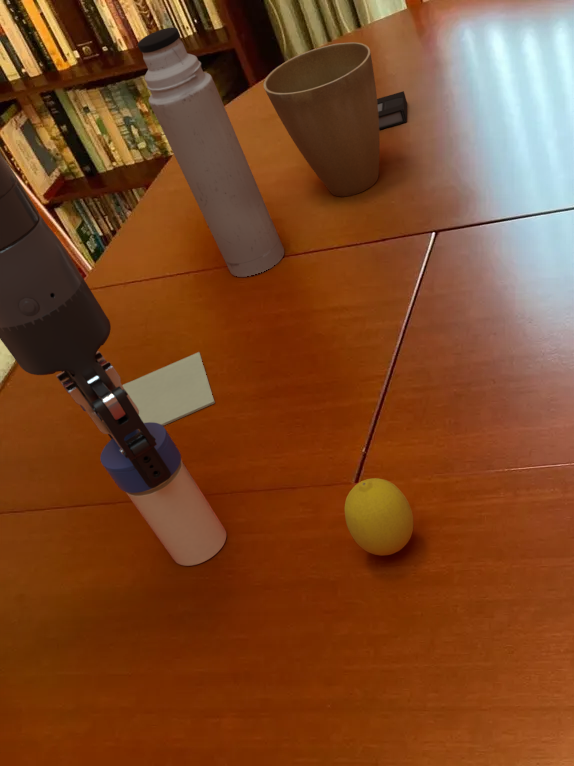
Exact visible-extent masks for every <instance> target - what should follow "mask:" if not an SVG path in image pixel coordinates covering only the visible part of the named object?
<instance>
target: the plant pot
mask: <svg viewBox="0 0 574 766" xmlns="http://www.w3.org/2000/svg"><path fill="white" fill-rule="evenodd" d="M375 79H376V78H375V72H374V67H373V59H372V53H371V49H370V47H369V46H368V44H365V43H362V42H353V41H351V42H340V43H333V44H329V45H323V46H321V47H318V48H314V49H310V50H308V51H304V52H302V53H299V54H298V55H295V56H293V57H292V58H289V59H288V60H286V61H285V62H283V63H282V64H279V65H278V66H276V67H275V68H274V69H272V71H270V73H269V74H268V75H267V76H266V77H265V79H264V82H263V85H262V86H263V89H264V91H265V93H266V95H267V97H268V99H269V101H270V103H271V104H272V106H273V109H274V110H275V112H276V114H277V115H278V118H279V119H280V122H281V123H282V125H283V127H284V128H285V130H286V132H287V133H288V136H290V138H291V140H292V141H293V143H294V145H295V146H296V147H297V149H298V151H299V153H300V154H301V155H302V157H303V158H304V160H305V161H306V162H307V164H308V165H309V167H310V168H311V169H312V171H313V172H314V174H315V175H316V176H317V177H318V179H319V180H320V181H321V183H323V185H324V186H325V187H326V188H327V190H328V191H329V192H330V193H331V194H332V195H333V196H335V197H349V196H354V195H357V194H360V193H362V192H365V191H366V190H368V189H370V188H371V187H372V186H374V185H375V184H376V183H377V181H378V179H379V177H380V176H379V175H380V174H379V173H380V130H379V117H378V104H377V99H378V96H377V88H376V87H377V86H376V80H375Z"/></svg>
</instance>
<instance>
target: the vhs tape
mask: <svg viewBox="0 0 574 766" xmlns="http://www.w3.org/2000/svg"><path fill="white" fill-rule="evenodd" d="M377 104H378V117H379V131H380V130H383V129H387V128H390V127H394V126H397V125H400V124H404V123H407V122H408V101H407V98H406V94H405V91H400V92H399V91H398V92H396V93H392V94H389V95H386V96H383V97H379V98H377Z"/></svg>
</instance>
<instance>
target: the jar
mask: <svg viewBox="0 0 574 766" xmlns="http://www.w3.org/2000/svg"><path fill="white" fill-rule="evenodd" d="M125 494H126V495H127V497H128V498H129V500H130V501H131V502H132V504H133V505H134V507H135V508H136V509H137V511H138V512H139V513H140V515H141V516H142V518H143V519H144V521H145V522H146V524H148V526H149V528H150V529H151V531H152V532H153V533H154V535H155V536H156V537H157V539H158V540H159V541H160V543H161V545H162V546H163V547H164V548H165V550H166V551H167V553H168V554H169V556H170V557H171V559H172V560H173V561H174V562H175V563H176V564H178V565H179V566H180V565H181V566H185V567H189V566H196V565H200V564H203V563H204V562H206V561H209V560H210V559H212V558H213V557H214V556H215V555H217V554H218V553H219V552H220V550H221V549H222V548H223V546H224V545H225V543H226V541H227V530H226V528H225V527H224V525H223V523H222V522H221V521H220V519H219V517H218V516H217V514H216V513H215V510H214V509H213V508H212V506H211V504H210V503H209V501H208V499H207V498H206V497H205V495H204V493H203V492H202V490H201V488H200V487H199V485H198V484H197V482H196V480H195V479H194V478H193V476H192V474H191V473H190V471H189V469H188V468H187V466H186V464H185V463H184V461H183V459H181V462H180V465H179V467H178V468H177V470H176V471H175V472H174V474H173V475H172V476H171V477H170V478H169V479H168V480H166V481H165V482H163V483H162V484H160V485H158V486H157V487H155V488H152V489H150V490H147V491H144V492H139V493H128V492H125Z"/></svg>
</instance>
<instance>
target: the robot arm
mask: <svg viewBox="0 0 574 766" xmlns="http://www.w3.org/2000/svg"><path fill="white" fill-rule="evenodd" d="M43 218H44V217H42V215H41V214H40V212H39V210H38V209H37V207H36V206H35V204H34V203H33V201H32V199H31V198H30V195H29V194H28V193H27V191H26V190H25V188H24V186H23V185H22V182H21V181H20V180H19V178H18V177H17V175H16V173H15V172H14V171H13V168H12V167H11V166H10V164H9V163H8V162H7V160H6V158H5V157H4V155H3V154H2V152H1V151H0V341H1V342H2V344H3V345H4V346H5V347H6V349H7V350H8V352H9V353H10V355H11V356H12V357H13V358H14V360H15V361H16V363H17V364H18V365H19V367H20V368H21V369H22V370H23V371H24V372H26V373H27V374H31V375H35V376H48V375H54V374H55V373H57V374H56V375H55V377H56V379H57V380H58V381H59V383H60V385H61V386H62V387H63V388H64V390H65V391H66V392H67V394H69V395H70V396H71V398H72V400H73V401H74V403H75V404H77V405H78V406H80V408H81V409H82V411H84V412H85V413H86V414H87V415H88V416H89V418H90V419H91V421H92V422H93V424H94V425H95V426H96V427H97V429H98V430H99V432H101V433H102V434H103V435H108V436H109V438H110V440H111V439H112V438H113V439H114V440H115V442H116V443H117V444H118V446H119V447H120V452H121V453H122V454H123V455H124V456H125V457H126V458H129V460H130V461H131V463H132V464H133V466H134V467H135V469H136V470H137V471H138V473H139V474H140V476H141V477H142V479H143V480H144V482H145V483H146V484H147V486H148V487H150V488H155V487H157V486H158V485H160V484H162V483H163V482H165V481H166V480H168V479H169V478H170V477H171V472H170V470H169V469H168V467H167V466H166V464H165V463H164V461H163V460H162V458H161V457H160V455H159V454H158V452H157V450H156V449H155V447H154V446H156V445H157V444H156V442H155V440H156V439H155V438H154V436H153V435H151V434H150V432H149V431H148V429H147V428H146V426H145V424H144V423H143V421H142V420H141V418H140V416H139V409H138V408H137V406H136V405H135V403H134V402H133V401H132V399H131V398H130V396H129V395H128V393H127V392H126V390H125V389H124V387H123V386H122V385H123V384H122V382H121V381H122V380H121V375H119V373H118V372H117V370H116V368H115V367H114V366H113V365H112V363H111V362H110V361H109V360H108V361H107V360H106V358H105V357H104V355H103V354H102V353H101V351H100V350H99V349H100V348H101V347H102V346H104V345H105V343H106V342H107V341H108V339H109V336H110V335H111V331H112V330H111V329H112V327H111V326H112V325H111V321H110V319H109V318H108V316H107V315H106V313H105V311H104V310H103V308H102V306H101V304H100V303H99V300H98V299H97V298H96V296H95V295H94V293H93V292H92V290H91V288H90V286H89V285H88V284H87V282H86V280H85V278H84V277H83V276H82V274H81V271H80V270H79V269H78V267H77V266H76V264H75V263H74V261H73V259H72V257H71V256H70V254H69V252H68V251H67V249H66V247H65V246H64V245H63V243H62V241H61V240H60V239H59V237H58V236H57V234H55V232H54V231H53V230H52V229H51V228H50V226H49V225H48V223H47V222H46V221H45V220H44V219H43ZM58 372H59V373H58ZM136 429H137V431H138V432H139V433H137V434H136V435H134V436H133V437H131V438H129V439H128V440H126V441H124V438H125V436H127V435H128V434H130V433H131V432H133V431H135V430H136Z"/></svg>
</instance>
